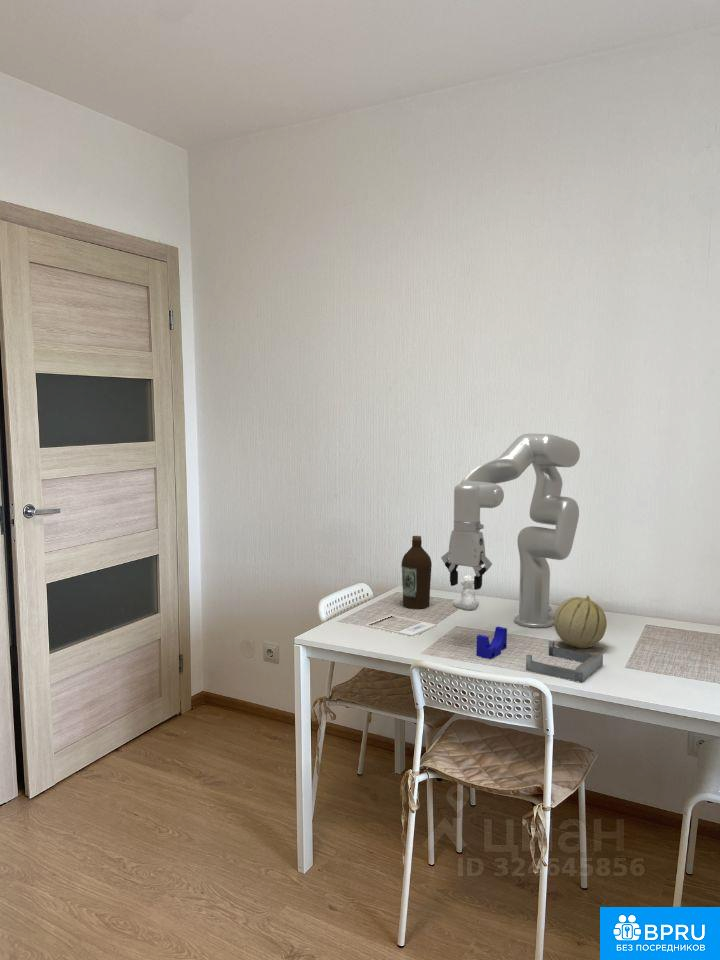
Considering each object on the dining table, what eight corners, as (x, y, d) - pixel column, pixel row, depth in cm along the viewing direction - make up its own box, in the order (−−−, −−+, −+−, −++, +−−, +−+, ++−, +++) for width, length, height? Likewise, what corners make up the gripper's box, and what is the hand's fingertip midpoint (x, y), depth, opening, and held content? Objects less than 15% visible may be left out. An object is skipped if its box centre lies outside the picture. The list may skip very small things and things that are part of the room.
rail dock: (550, 654, 206) (550, 640, 206) (602, 665, 197) (603, 651, 197) (525, 670, 194) (526, 655, 193) (580, 682, 185) (581, 667, 184)
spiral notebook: (412, 634, 222) (365, 624, 233) (412, 638, 223) (365, 627, 233) (437, 624, 234) (391, 614, 245) (437, 627, 234) (391, 617, 245)
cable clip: (490, 659, 202) (490, 638, 202) (476, 656, 205) (476, 635, 205) (511, 649, 211) (511, 629, 211) (497, 646, 214) (497, 626, 214)
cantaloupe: (544, 647, 213) (545, 596, 212) (567, 635, 224) (568, 588, 223) (592, 658, 203) (594, 605, 202) (614, 646, 214) (615, 596, 213)
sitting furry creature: (478, 604, 261) (478, 571, 260) (484, 611, 252) (484, 576, 251) (452, 605, 260) (452, 572, 259) (457, 611, 252) (457, 577, 250)
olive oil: (415, 600, 266) (416, 532, 264) (437, 606, 258) (438, 536, 256) (395, 605, 259) (395, 536, 257) (417, 611, 251) (417, 540, 249)
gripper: (499, 528, 209) (498, 588, 210) (447, 522, 219) (446, 580, 221) (487, 531, 203) (486, 594, 204) (434, 525, 213) (433, 585, 215)
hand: (465, 586), depth 212 cm, fingers open, 7 cm apart
